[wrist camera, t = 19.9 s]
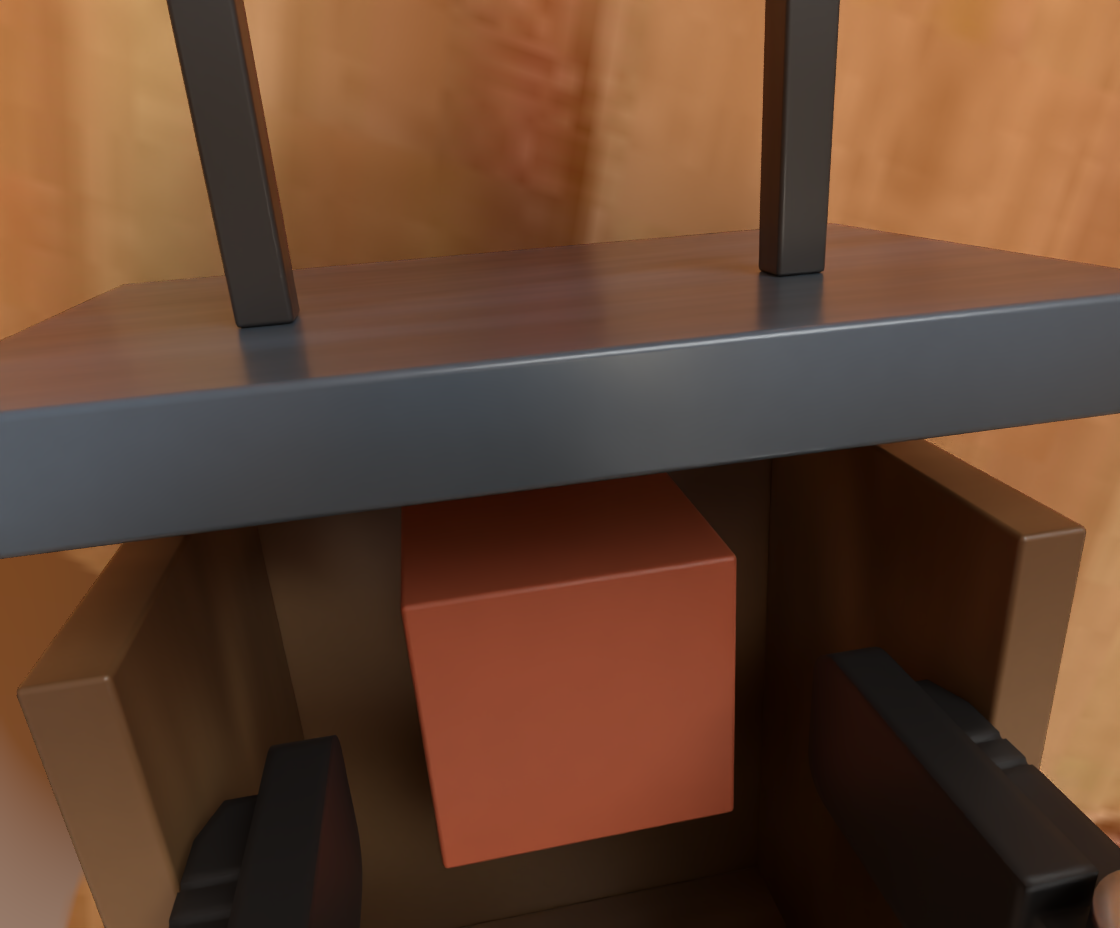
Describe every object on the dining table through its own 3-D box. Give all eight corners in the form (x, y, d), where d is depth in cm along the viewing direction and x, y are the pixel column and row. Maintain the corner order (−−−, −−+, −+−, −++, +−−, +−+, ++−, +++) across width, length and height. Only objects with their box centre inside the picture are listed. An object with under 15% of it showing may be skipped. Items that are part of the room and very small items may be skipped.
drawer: (2, -160, 10) (-744, -747, 4) (854, -170, 12) (1428, -584, 5) (292, 943, 18) (223, 1427, 11) (795, 841, 20) (1004, 1205, 13)
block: (400, 476, 13) (399, 607, 9) (645, 444, 14) (738, 556, 10) (433, 685, 15) (443, 871, 11) (652, 649, 15) (735, 813, 12)
